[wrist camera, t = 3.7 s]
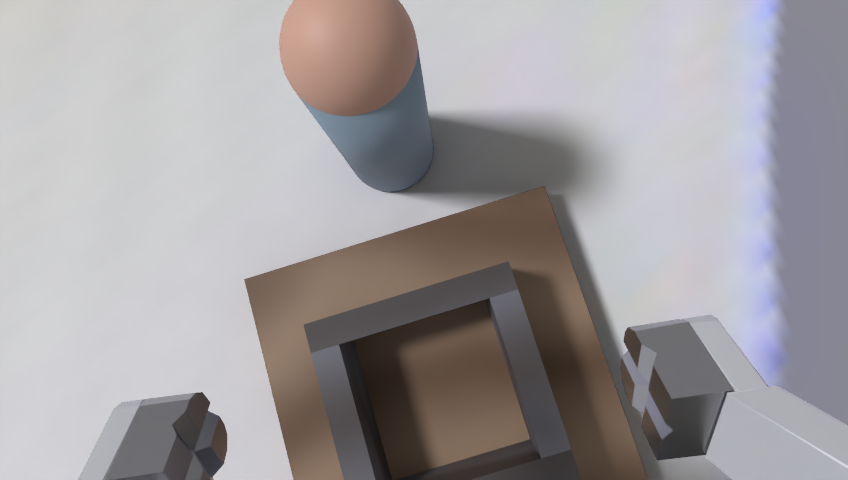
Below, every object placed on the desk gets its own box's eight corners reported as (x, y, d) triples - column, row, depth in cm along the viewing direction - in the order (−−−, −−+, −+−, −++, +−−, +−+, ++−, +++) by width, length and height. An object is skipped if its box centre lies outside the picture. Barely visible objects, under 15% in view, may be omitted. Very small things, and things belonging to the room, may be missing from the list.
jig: (646, 498, 23) (691, 542, 19) (333, 591, 23) (305, 656, 19) (539, 193, 25) (556, 168, 21) (256, 281, 26) (214, 274, 21)
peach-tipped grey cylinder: (444, 176, 26) (430, 56, 14) (362, 202, 26) (278, 105, 14) (419, 99, 27) (386, -80, 14) (339, 124, 27) (240, -32, 15)
